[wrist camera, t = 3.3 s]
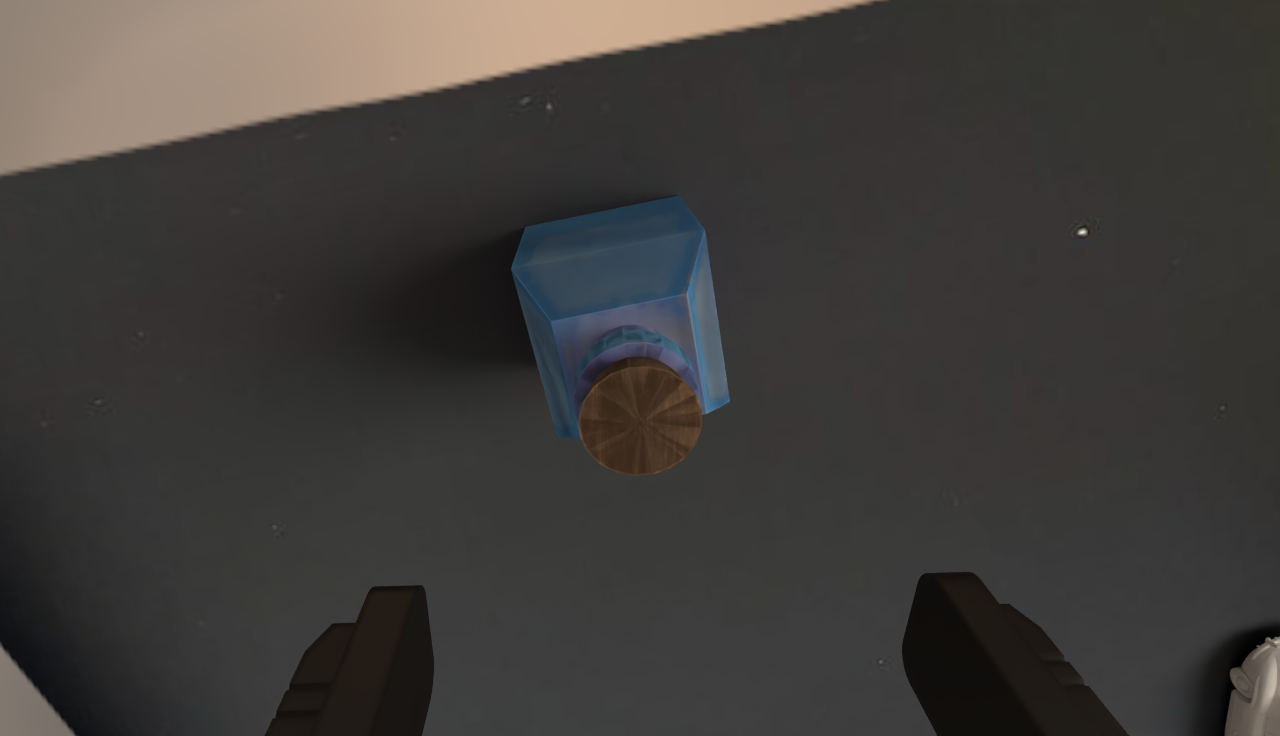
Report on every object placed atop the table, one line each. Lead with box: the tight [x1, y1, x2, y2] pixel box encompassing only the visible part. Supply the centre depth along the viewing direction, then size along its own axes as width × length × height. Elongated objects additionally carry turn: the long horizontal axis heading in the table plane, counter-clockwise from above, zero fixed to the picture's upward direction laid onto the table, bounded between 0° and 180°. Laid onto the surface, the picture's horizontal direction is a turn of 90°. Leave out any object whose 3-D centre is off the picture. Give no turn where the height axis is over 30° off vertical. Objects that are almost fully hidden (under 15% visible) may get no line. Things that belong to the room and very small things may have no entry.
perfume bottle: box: [511, 196, 730, 476], centre depth 23 cm, size 6×6×12 cm
